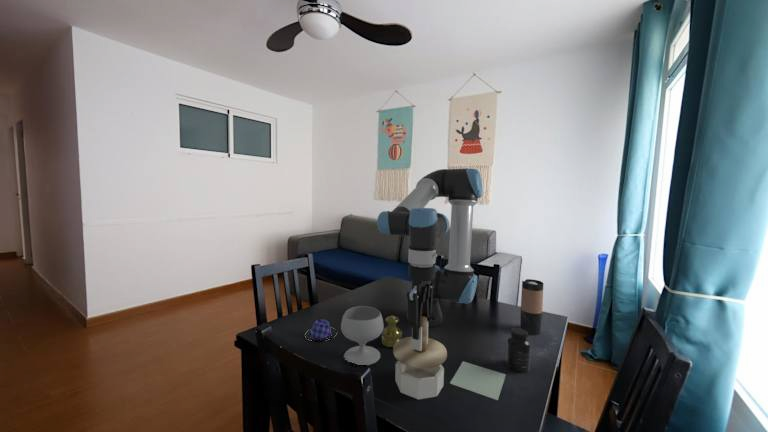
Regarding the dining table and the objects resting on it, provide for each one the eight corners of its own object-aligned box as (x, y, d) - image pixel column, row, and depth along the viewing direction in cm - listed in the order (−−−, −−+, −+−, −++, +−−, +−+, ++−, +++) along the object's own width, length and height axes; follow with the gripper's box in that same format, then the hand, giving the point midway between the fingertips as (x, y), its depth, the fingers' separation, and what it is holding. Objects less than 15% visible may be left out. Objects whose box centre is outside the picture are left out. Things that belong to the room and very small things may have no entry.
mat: (449, 384, 84) (449, 383, 84) (462, 362, 95) (462, 361, 95) (497, 401, 78) (497, 400, 78) (505, 375, 89) (505, 374, 89)
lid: (383, 357, 81) (383, 321, 80) (407, 335, 94) (408, 304, 93) (435, 375, 73) (436, 335, 72) (454, 348, 86) (455, 315, 85)
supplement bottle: (502, 361, 96) (503, 326, 95) (522, 361, 97) (523, 325, 96) (512, 374, 89) (514, 336, 88) (534, 373, 90) (536, 335, 89)
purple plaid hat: (343, 333, 115) (343, 320, 114) (321, 346, 105) (321, 332, 104) (320, 325, 121) (320, 313, 121) (298, 337, 111) (297, 324, 111)
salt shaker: (404, 340, 110) (404, 313, 109) (398, 350, 103) (399, 322, 102) (385, 336, 112) (385, 311, 111) (378, 346, 105) (379, 319, 104)
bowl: (388, 388, 82) (389, 369, 82) (409, 366, 93) (409, 349, 93) (431, 406, 76) (432, 385, 75) (447, 379, 86) (448, 361, 86)
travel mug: (543, 336, 114) (546, 285, 112) (522, 334, 115) (524, 284, 114) (537, 327, 121) (540, 279, 120) (517, 325, 123) (519, 278, 121)
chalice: (391, 360, 96) (392, 315, 95) (352, 374, 89) (353, 325, 87) (369, 341, 108) (370, 301, 107) (334, 352, 100) (334, 309, 99)
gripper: (422, 272, 73) (419, 364, 74) (445, 260, 87) (442, 337, 88) (395, 268, 76) (393, 355, 78) (421, 257, 91) (419, 331, 92)
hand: (419, 345), depth 83 cm, fingers closed on lid, 3 cm apart
